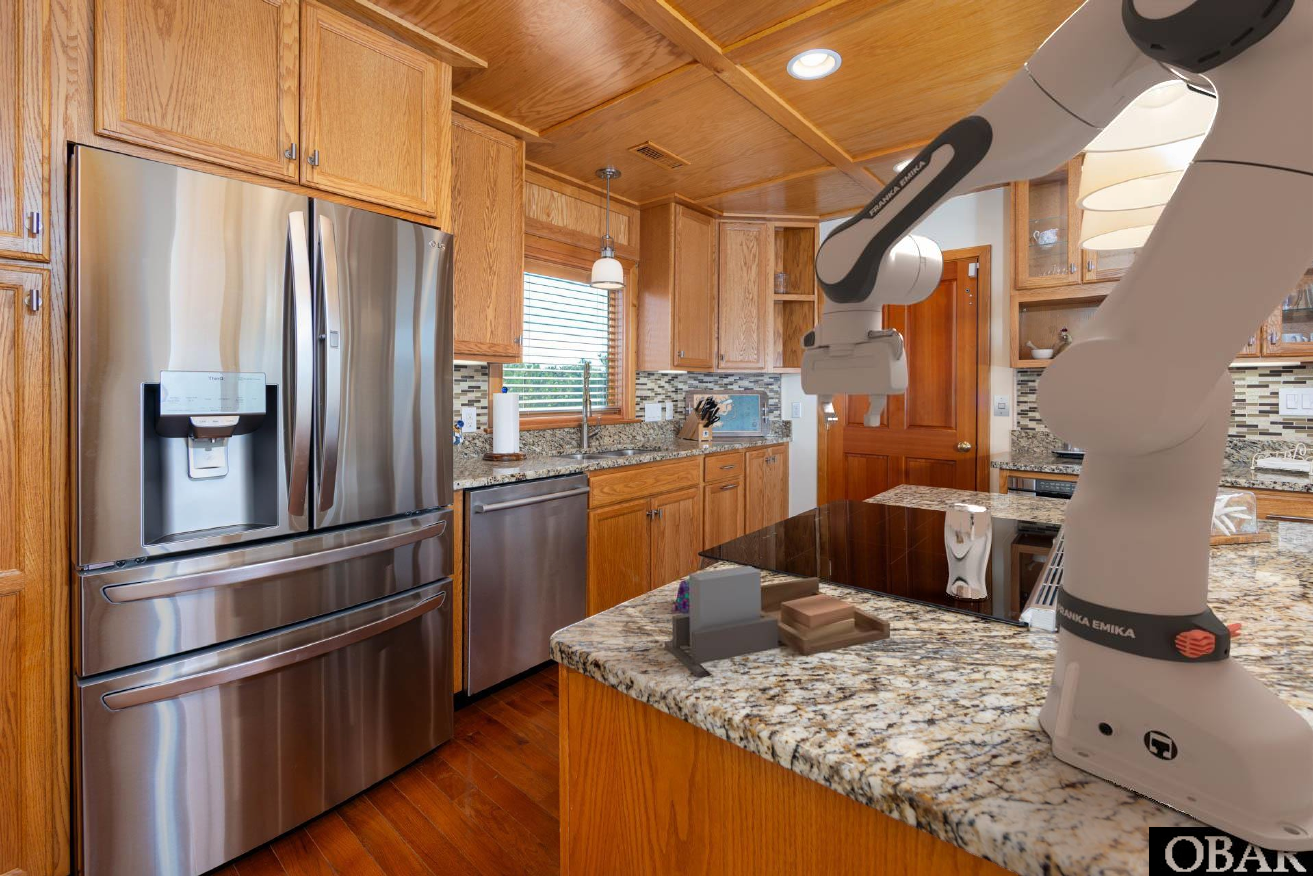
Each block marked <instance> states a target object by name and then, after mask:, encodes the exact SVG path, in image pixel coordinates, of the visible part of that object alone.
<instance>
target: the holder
mask: <svg viewBox="0 0 1313 876" xmlns="http://www.w3.org/2000/svg"><path fill="white" fill-rule="evenodd" d="M671 621H672V624H671V625H672V632H671V633H672V640H668V641H667V640H666V641H664V649H666V651H668V652H669V653H670V654H671V655H672V656H673V657H674V658H676V660H678V661H679V662H680V663H681V664H682V665H683V666H684V667H686V669H687V670H689V671H690V672H691V673H692V674H693V675H694V676H695V677H697V679H699V678H704V677H709V676H713V674H712V673H711V672H710V671H709V670H708V669H706V668H705V667H704V666H703V665H702V664H706V663H710V662H715V661H719V660H720V661H721V660H725V659H729V658H730V659H731V658H735V657H739V656H745V655H749V654H753V653H758V652H759V653H760V652H765V651H769V650H775V649H778V648H779V640H778V619H777V618H776V617H774V616H771V617H765V618H759V619H754V620H748V621H743V622H737V623H731V624H726V625H720V626H715V627H709V628H703V629H698V630H692V631H691V646H692V649H691V655H690V654H689V653H688V652H686V651H685V650H684V649H683V648H682V647H686V646H690V613H687V614H683V613H682V614H676V615H672V620H671Z"/></svg>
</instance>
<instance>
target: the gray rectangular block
mask: <svg viewBox="0 0 1313 876" xmlns="http://www.w3.org/2000/svg"><path fill="white" fill-rule="evenodd" d="M688 579H689V611H690V645H689V648H690V649H691V650H692V646H691V631H692V630H698V629H703V628H709V627H715V626H720V625H726V624H731V623H737V622H743V621H748V620H754V619H759V618H761V586H762V571H761V570H759V569H757V568H754V567H752V566H750V565H746V566H745V565H744V566H738V567H736V566H735V567H730V568H729V567H728V568H724V569H717V570H709V571H702V572H694V573H689V574H688Z"/></svg>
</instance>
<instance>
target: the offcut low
mask: <svg viewBox="0 0 1313 876" xmlns="http://www.w3.org/2000/svg"><path fill="white" fill-rule="evenodd" d="M781 622H782V623H784V624H786V625H787V626H789V627H791V628H793V629H794V630H796V631H798V632H800V633H801V634H803V635H805V636H806V637H808V638H810V639H811V641H813V640H818V639H823V638H828V637H833V636H838V635H843V634H848V633H853V632H855V619H850V620H845V621H841V622H837V623H833V624H829V625H825V626H821V627H817V628H813V629H809V628H807V627H805V626H802V625H800V624H798V623H796V622H794V621H792V620H790V619H788V618H786V617H783V616H781Z"/></svg>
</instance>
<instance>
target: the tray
mask: <svg viewBox="0 0 1313 876" xmlns="http://www.w3.org/2000/svg"><path fill="white" fill-rule="evenodd" d="M820 594H826V595H828V594H827V593H825V592H823V591H820V578H819V577H816V576H814V577H808V578H802V579H795V580H789V581H781V582H775V583H769V584H761V618H765V617H771V616H774V617H776V618H777V619H778V642H779V641H780V643H782V644H784V645H785V646H788V647H789V648H791V649H792V650H794V651H796V652H797V653H799V654H800V655H802V656H803V657H807V656H811V655H816V654H817V655H818V654H821V653H826V652H830V651H835V650H840V649H845V648H849V647H854V646H857V645H864V644H867V643H871V642H872V643H873V642H878V641H882V640H886V639H890V638H891V622H890V621H886V620H884V619H882V618H880V617H878V616H875V615H873V614H871V613H868V612H866V611H864V610H862V609H860V608H858V607H856V606H854V619H855V632H853V633H848V634H843V635H838V636H833V637H828V638H823V639H818V640H813V641H811V639H810V638H808V637H806V636H805V635H803V634H801V633H800V632H798V631H796V630H794V629H793V628H791V627H789V626H787V625H786V624H784V623H782V622H781V603H783V602H787V601H792V600H797V599H801V598H806V597H811V596H815V595H820ZM828 596H830V595H828Z"/></svg>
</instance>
